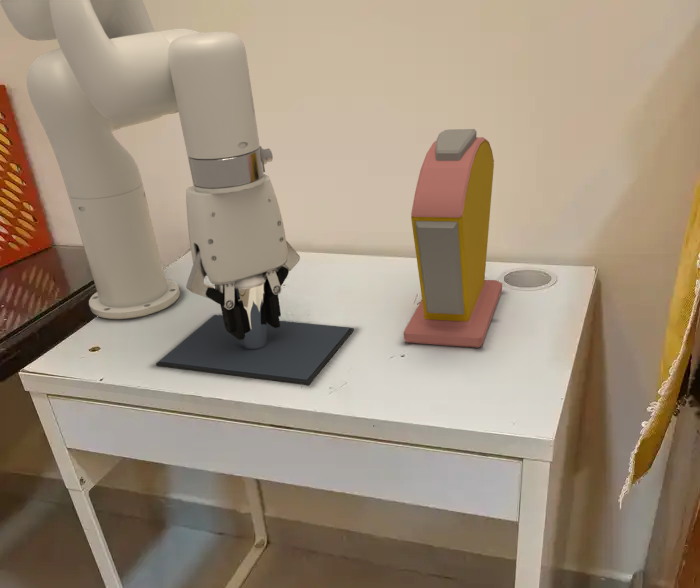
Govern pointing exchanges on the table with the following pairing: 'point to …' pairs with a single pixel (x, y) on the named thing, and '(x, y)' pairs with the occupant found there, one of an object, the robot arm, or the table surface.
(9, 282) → the table surface
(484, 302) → the clock
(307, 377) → the mouse pad
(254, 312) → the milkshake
